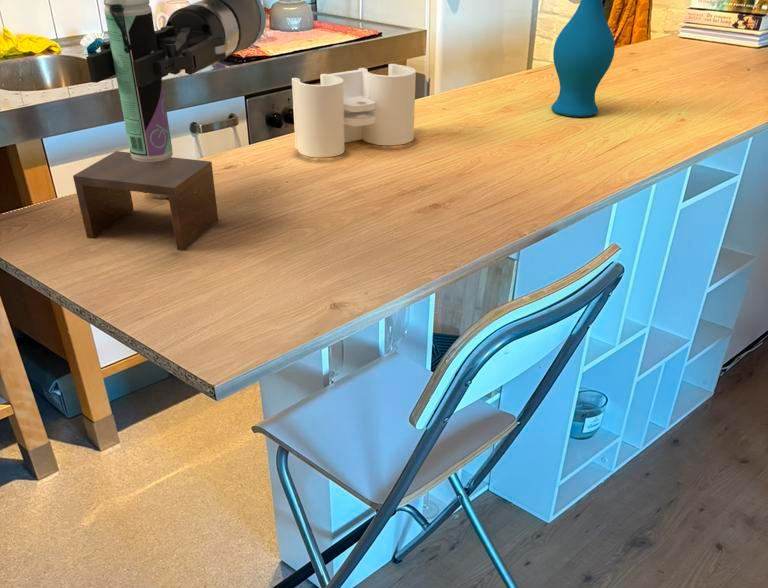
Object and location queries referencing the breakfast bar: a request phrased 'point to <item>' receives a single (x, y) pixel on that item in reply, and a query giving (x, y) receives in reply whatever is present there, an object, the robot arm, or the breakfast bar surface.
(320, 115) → the bracket
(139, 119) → the spray can
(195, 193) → the shelf
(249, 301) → the breakfast bar surface
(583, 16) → the vase
